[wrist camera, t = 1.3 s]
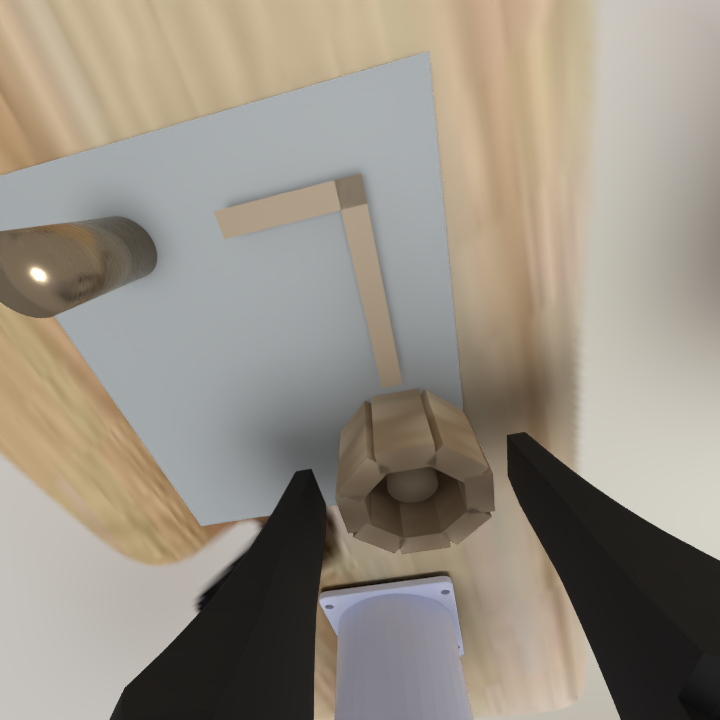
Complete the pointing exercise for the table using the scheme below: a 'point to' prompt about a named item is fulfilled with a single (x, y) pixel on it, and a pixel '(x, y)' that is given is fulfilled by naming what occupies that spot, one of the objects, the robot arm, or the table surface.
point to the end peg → (71, 263)
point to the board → (267, 281)
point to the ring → (406, 452)
